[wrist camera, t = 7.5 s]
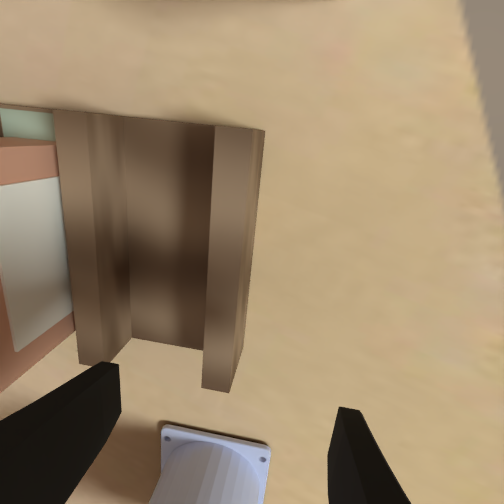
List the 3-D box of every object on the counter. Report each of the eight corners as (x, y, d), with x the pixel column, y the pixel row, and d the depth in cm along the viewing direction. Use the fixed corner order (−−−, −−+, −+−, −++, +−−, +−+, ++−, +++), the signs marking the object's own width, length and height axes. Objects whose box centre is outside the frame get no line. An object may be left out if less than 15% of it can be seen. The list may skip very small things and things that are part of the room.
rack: (243, 347, 21) (229, 393, 17) (-66, 292, 24) (-136, 321, 20) (265, 130, 16) (253, 129, 13) (-119, 92, 19) (-222, 81, 15)
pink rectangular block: (85, 144, 17) (-53, 149, 11) (99, 312, 20) (1, 395, 14) (10, 136, 18) (-165, 137, 11) (36, 302, 21) (-87, 377, 14)
